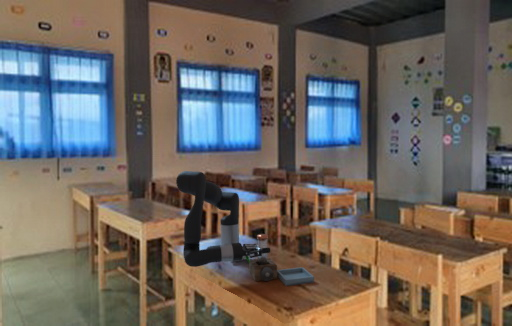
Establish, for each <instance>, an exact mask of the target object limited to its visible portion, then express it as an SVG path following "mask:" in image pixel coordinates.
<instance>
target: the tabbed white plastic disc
mask: <svg viewBox="0 0 512 326" xmlns="http://www.w3.org/2000/svg"><path fill="white" fill-rule="evenodd" d="M243 259H244V260H246V261H247V263H248V265H249V260H250V256H243V258H242V260H241V261H243ZM230 262H231V263H232V262H233V261H229V263H230Z"/></svg>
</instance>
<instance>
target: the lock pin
mask: <svg viewBox="0 0 512 326" xmlns="http://www.w3.org/2000/svg"><path fill="white" fill-rule="evenodd" d="M268 238H269V236H268V234H266V233H265V234H264V233H259V234H257V235H256V239H257V245H258V248H268ZM258 253H259V252H258ZM267 259H268V253H263V254H262V256H258V257H257V260H258V265H266V264H267Z"/></svg>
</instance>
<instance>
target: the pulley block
mask: <svg viewBox="0 0 512 326" xmlns="http://www.w3.org/2000/svg"><path fill="white" fill-rule="evenodd" d="M277 270H278V265H277V263H275V262H274V260H272V258H270V257H269V258H268V257H267V264H266V265H258V259H252V260H251V259H249V264H248V271H249V272H248V274H249V273H250V274H249V275H250V276H252V277H251V278H252V279H253V281H254V280H255V281H254V282H259V281H260V280H261V281H264V282H269V281H271V280H275V279H278V277H277ZM261 281H260V282H261Z"/></svg>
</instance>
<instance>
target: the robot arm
mask: <svg viewBox="0 0 512 326" xmlns="http://www.w3.org/2000/svg"><path fill="white" fill-rule="evenodd" d="M206 178H207V177H206V175H205V174H204V172H202V171H192V170H191V171H190V170H189V171H188V170H185V171H181V172H180V173H179V174H178V175H177V177H176V180H175V181H176V182H175V184H176V187H177V189H178V190H179V191H180V193H183V194H188V195H191V196H194V201H193V205H192V207H191V209H190V210H189V212H188V214H187V216H186V218H185V219H184V224H183V234H184V235H183V236H184V237H183V240H184V241H183V242H184V243H183V258H184V262H185V264H186V265H187V266H188V267H192V268H197V267H201V266H205V265H208V264H210V263H211V264H212V263H213V264H214V263H223V262H224V263H228V262H229V263H230V261H232V262H239V260H240V261H243V260H242V258H243V256H250V257H249V259H253V258H258V256H262V254H263V253H267V254H270V253H271V248H270V247H267V248H258V244H257V243H243V244H242V243H241V242H240V228H239V227H240V226H239V225H240V224H239V223H240V222H239V219H240V198H239V197H240V196H239V194H238V192H223V191H222V189H221V187H220V186H219V185H218V184H216V183H214V182H212V181H208V180H207V179H206ZM204 202H205V203H208V204H210V205H213V206H215V207H216V208H217V210H221V211H227V212H228V211H230V212H229V213H230V214H228V215H225V216H222V217H221V218H220V222H219V223H220V244H218V245H210V246H208V247H206V248H204V249H200V247H201V246H200V245H201V244H200V241H201V239H202V218H203V217H202V215H203V209H204V204H205V203H204ZM258 252H259V253H258Z"/></svg>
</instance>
